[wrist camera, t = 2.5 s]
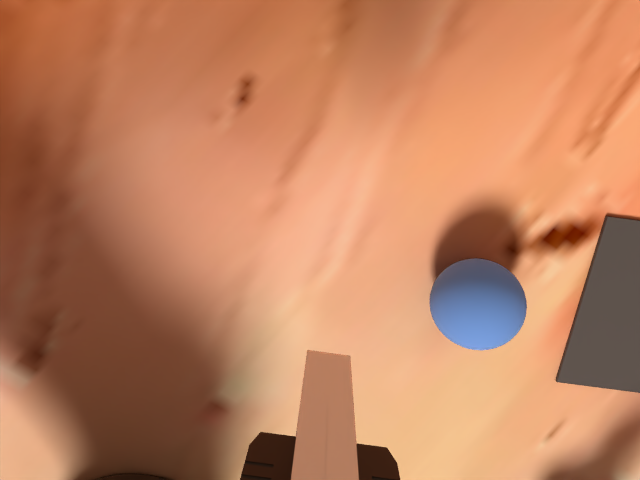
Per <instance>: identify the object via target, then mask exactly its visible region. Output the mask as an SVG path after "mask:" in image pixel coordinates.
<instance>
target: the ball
mask: <svg viewBox="0 0 640 480" xmlns="http://www.w3.org/2000/svg"><path fill="white" fill-rule="evenodd" d="M526 308H527V304H526V298H525V294H524V291H523V288H522V286H521V285H520V283H519V281H518V280H517V278H516V277H515V276H514V275H513V274H512V273H511V272H510V271H509V270H508V269H506V268H505V267H503V266H502V265H500V264H498V263H496V262H493V261H490V260H485V259H477V258H475V259H466V260H461V261H458V262H456V263H454V264H452V265H450V266H448V267H447V268H446V269H445V270H443V271H442V272H441V273H440V275H439V276H438V277H437V279H436V280H435V282H434V284H433V287H432V290H431V293H430V310H431V314H432V317H433V320H434V322H435V324H436V325H437V327H438V329H439V330H440V331H441V332H442V333H443V335H445V336H446V337H447V338H448V339H449V340H451V341H452V342H454V343H455V344H457V345H460V346H462V347H465V348H468V349H473V350H488V349H493V348H497V347H499V346H502V345H504V344H505V343H507V342H508V341H510V340H511V339H512V338H513V337H514V336H515V335H516V334H517V333H518V332H519V330H520V329H521V327H522V325H523V323H524V320H525V316H526Z"/></svg>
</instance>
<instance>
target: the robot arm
mask: <svg viewBox="0 0 640 480" xmlns="http://www.w3.org/2000/svg"><path fill="white" fill-rule="evenodd" d="M97 480H166V479H163V478H159V477H155V476H149V475H141V474H121V475H113V476H108V477H103V478H100V479H97ZM240 480H400V476H399V471H398V465H397V462H396V461H395V459H394V458H393V456H392V455H391V453H390V452H389V450H388V449H387V448H386V447H379V446H371V445H364V444H356V432H355V417H354V403H353V389H352V374H351V360H350V356H348V355H340V354H333V353H325V352H318V351H310V350H307V356H306V364H305V371H304V378H303V386H302V393H301V401H300V408H299V416H298V424H297V431H296V437H294V436H287V435H279V434H272V433H264V432H260V433H259V435H258V436H257V437H256V438H255V439H254V440H253V441H252V443H251V444H250V445H249V449H248V452H247V456H246V460H245V464H244V467H243V471H242V474H241V478H240Z"/></svg>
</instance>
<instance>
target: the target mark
mask: <svg viewBox="0 0 640 480" xmlns="http://www.w3.org/2000/svg"><path fill="white" fill-rule="evenodd" d="M556 382H560V383H568V384H576V385H584V386H592V387H599V388H607V389H615V390H623V391H630V392H638V393H640V221H639V220H631V219H624V218H616V217H608V216H606V217H605V220H604V224H603V227H602V230H601V234H600V237H599V240H598V243H597V247H596V250H595V253H594V256H593V260H592V263H591V266H590V269H589V273H588V276H587V279H586V282H585V286H584V289H583V292H582V296H581V299H580V302H579V305H578V309H577V312H576V315H575V318H574V322H573V325H572V328H571V331H570V335H569V338H568V341H567V345H566V348H565V351H564V354H563V358H562V361H561V364H560V367H559V371H558V374H557V377H556Z"/></svg>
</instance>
